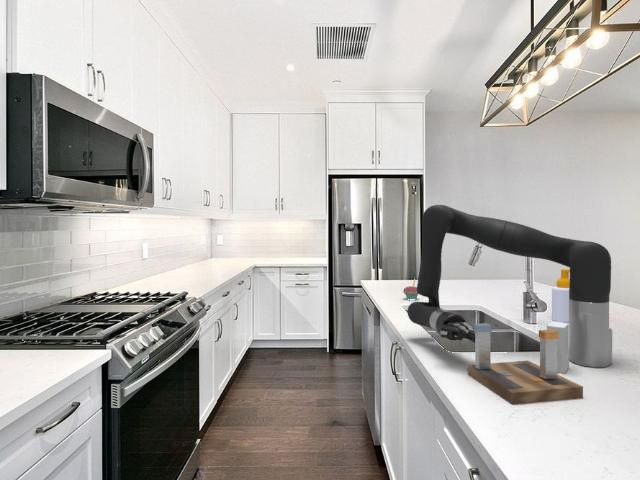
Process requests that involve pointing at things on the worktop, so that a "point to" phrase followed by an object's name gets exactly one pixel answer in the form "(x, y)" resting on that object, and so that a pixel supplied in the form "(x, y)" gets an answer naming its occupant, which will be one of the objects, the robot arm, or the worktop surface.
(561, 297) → the soap bottle
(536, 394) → the switch base
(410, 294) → the cupcake
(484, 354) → the lever blue
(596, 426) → the worktop surface
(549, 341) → the lever orange
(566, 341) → the skincare box
